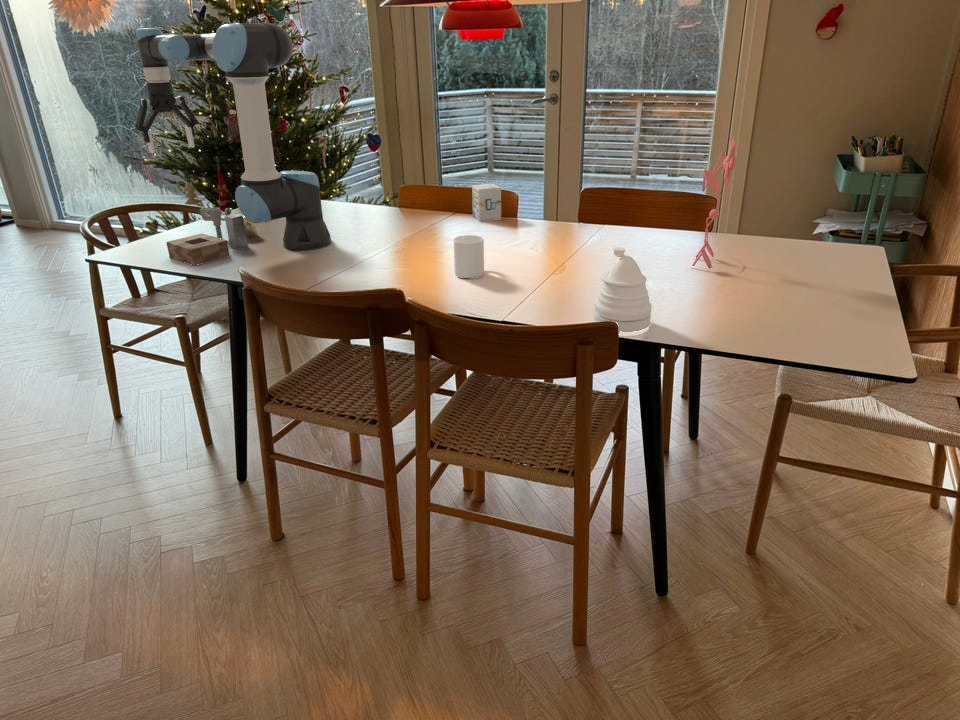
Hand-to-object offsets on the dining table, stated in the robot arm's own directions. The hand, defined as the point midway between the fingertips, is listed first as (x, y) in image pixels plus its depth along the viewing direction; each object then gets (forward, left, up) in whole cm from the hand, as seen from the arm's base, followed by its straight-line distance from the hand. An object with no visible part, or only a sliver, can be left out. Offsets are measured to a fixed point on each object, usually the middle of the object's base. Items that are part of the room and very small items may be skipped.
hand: (172, 150), depth 232 cm
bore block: (-32, +15, -27) cm, 45 cm away
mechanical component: (-18, -1, -28) cm, 33 cm away
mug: (-110, -23, -28) cm, 116 cm away
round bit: (-24, -8, -27) cm, 37 cm away
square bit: (-32, +1, -27) cm, 42 cm away
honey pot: (-162, -14, -28) cm, 165 cm away
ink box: (-75, -74, -28) cm, 109 cm away
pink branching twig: (-163, -69, -28) cm, 179 cm away
